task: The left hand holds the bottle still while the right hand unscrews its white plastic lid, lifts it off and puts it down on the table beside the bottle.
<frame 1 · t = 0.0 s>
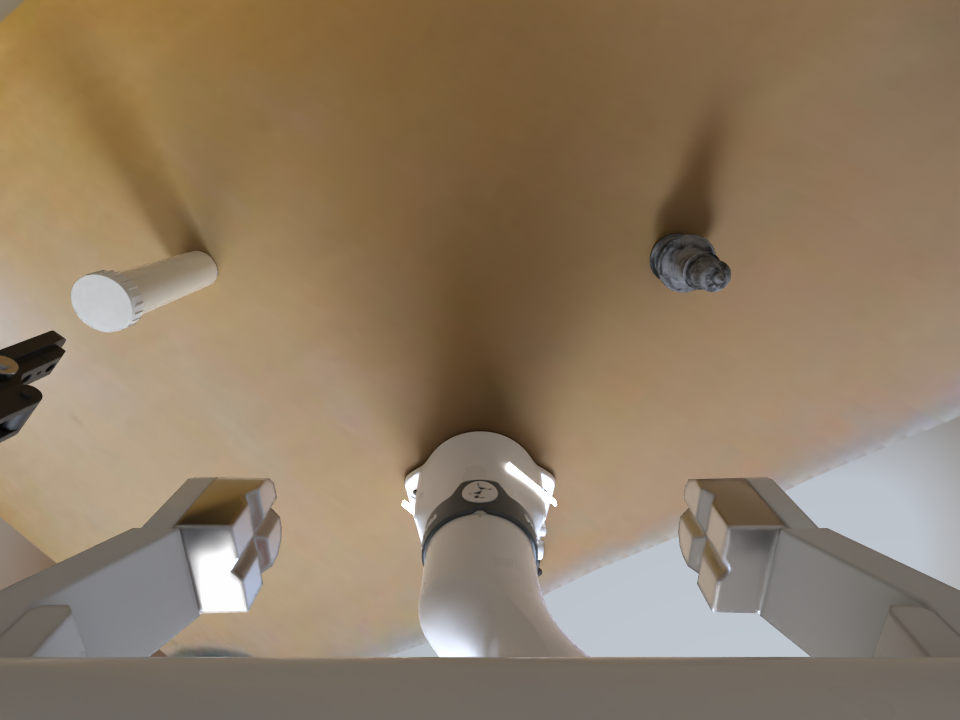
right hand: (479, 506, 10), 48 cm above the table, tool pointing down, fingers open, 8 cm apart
lid: (104, 302, 42), point 15 cm above the table, screwed on, not yet turned
grey chess piece: (674, 258, 56), on the table
bottle: (199, 269, 57), on the table
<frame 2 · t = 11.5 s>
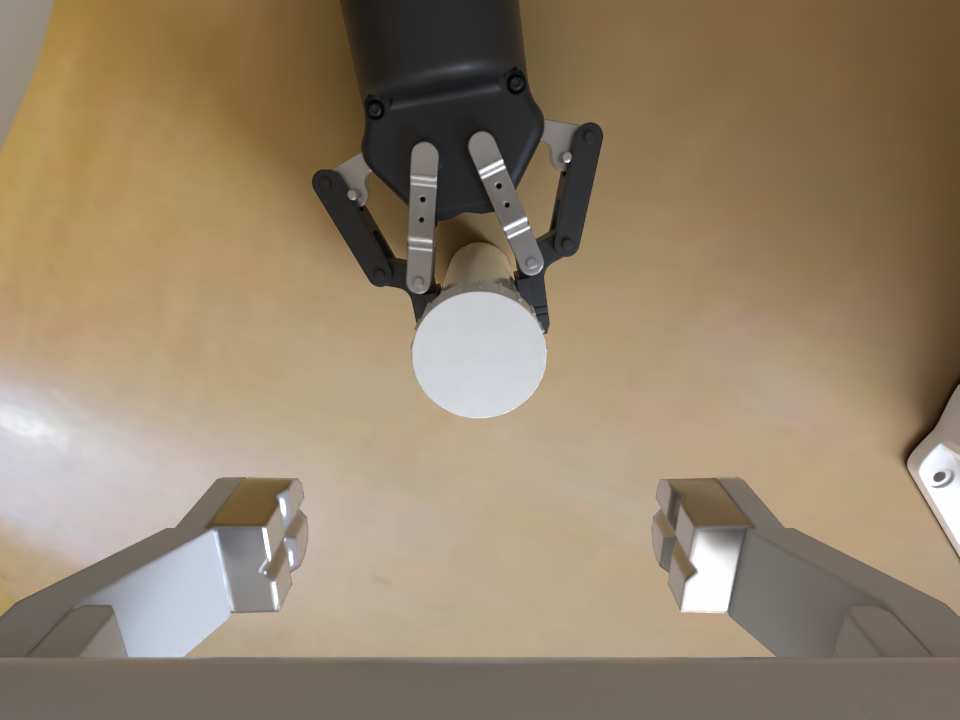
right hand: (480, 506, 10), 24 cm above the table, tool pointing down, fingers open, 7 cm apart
left hand: (488, 347, 28), fingers closed on bottle, 4 cm apart
lid: (479, 354, 19), point 15 cm above the table, screwed on, not yet turned
bottle: (479, 273, 33), on the table, touching left hand
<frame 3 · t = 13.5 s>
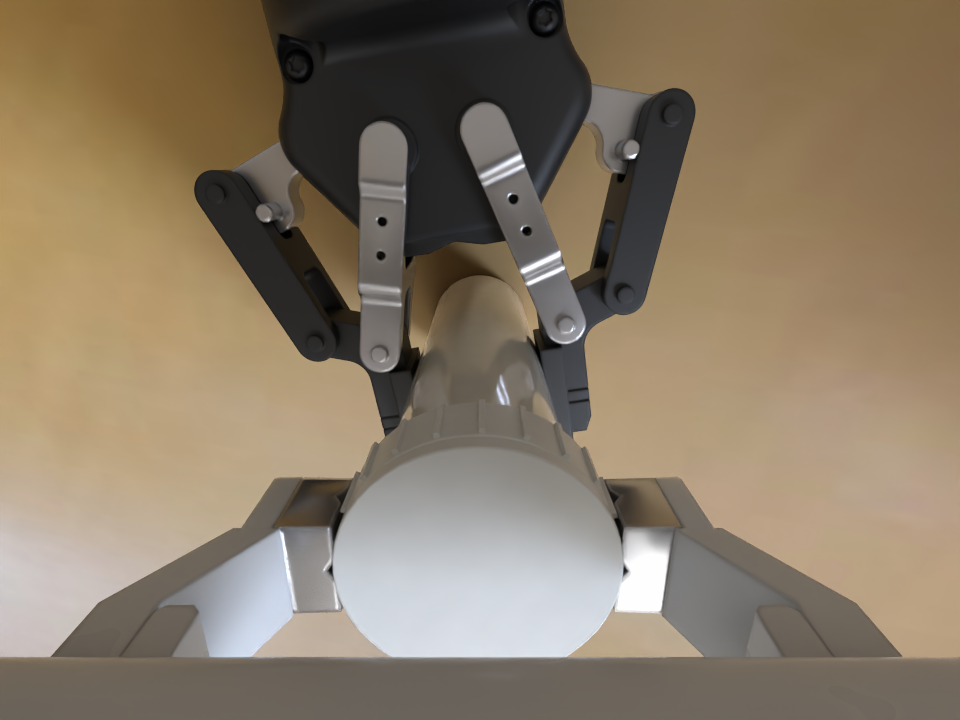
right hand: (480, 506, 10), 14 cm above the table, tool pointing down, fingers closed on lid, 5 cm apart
left hand: (493, 446, 18), fingers closed on bottle, 4 cm apart
lid: (478, 560, 9), point 15 cm above the table, screwed on, not yet turned, touching right hand
bottle: (479, 319, 23), on the table, touching left hand
when the right hand's fingers open (14 cm above the table, at t = 14.9 s): lid stays where it is, point 15 cm above the table.
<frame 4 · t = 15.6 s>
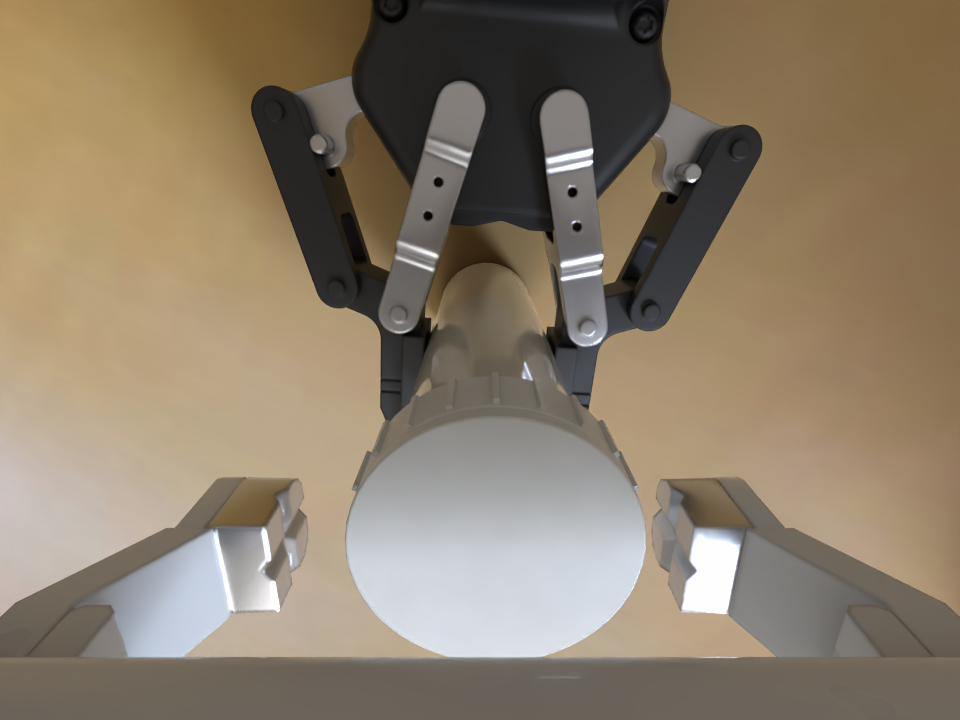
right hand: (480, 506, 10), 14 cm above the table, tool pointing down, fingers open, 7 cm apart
left hand: (482, 431, 18), fingers closed on bottle, 4 cm apart
lid: (495, 537, 9), point 15 cm above the table, turned 84° so far, risen 0.2 cm, still on its thread
bottle: (485, 307, 23), on the table, touching left hand
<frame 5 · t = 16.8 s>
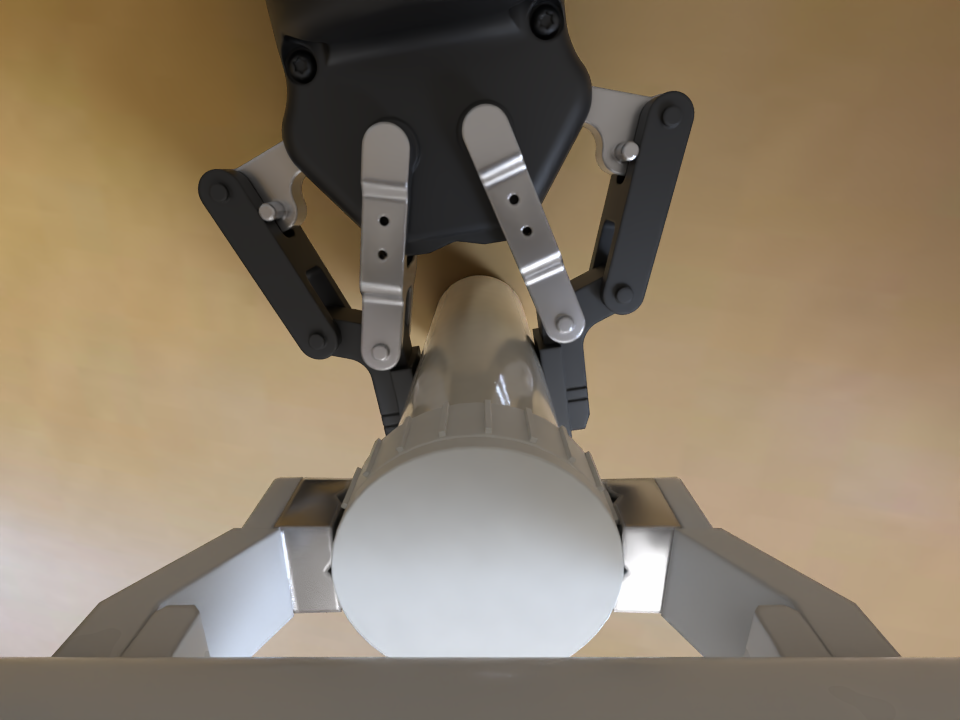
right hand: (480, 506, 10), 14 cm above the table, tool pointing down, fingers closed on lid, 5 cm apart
left hand: (492, 444, 18), fingers closed on bottle, 4 cm apart
lid: (477, 561, 9), point 15 cm above the table, turned 84° so far, risen 0.2 cm, still on its thread, touching right hand
bottle: (479, 319, 23), on the table, touching left hand
when the right hand's fingers open (2 cm above the table, at t = 23.5 s): lid drops 2 cm, point 1 cm above the table.
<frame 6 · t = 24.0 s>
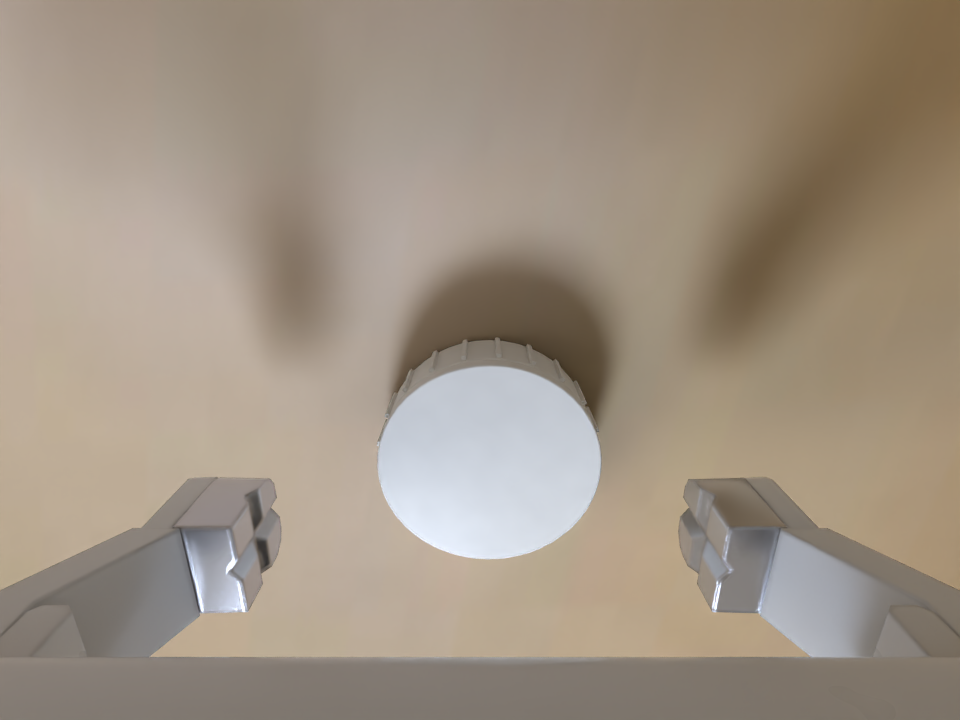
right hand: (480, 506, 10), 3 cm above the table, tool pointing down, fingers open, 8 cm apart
lid: (489, 461, 11), point 1 cm above the table, off its thread
when the left hand's fingers open (7 cm above the table, at t = 24.5 s): bottle stays where it is, on the table.
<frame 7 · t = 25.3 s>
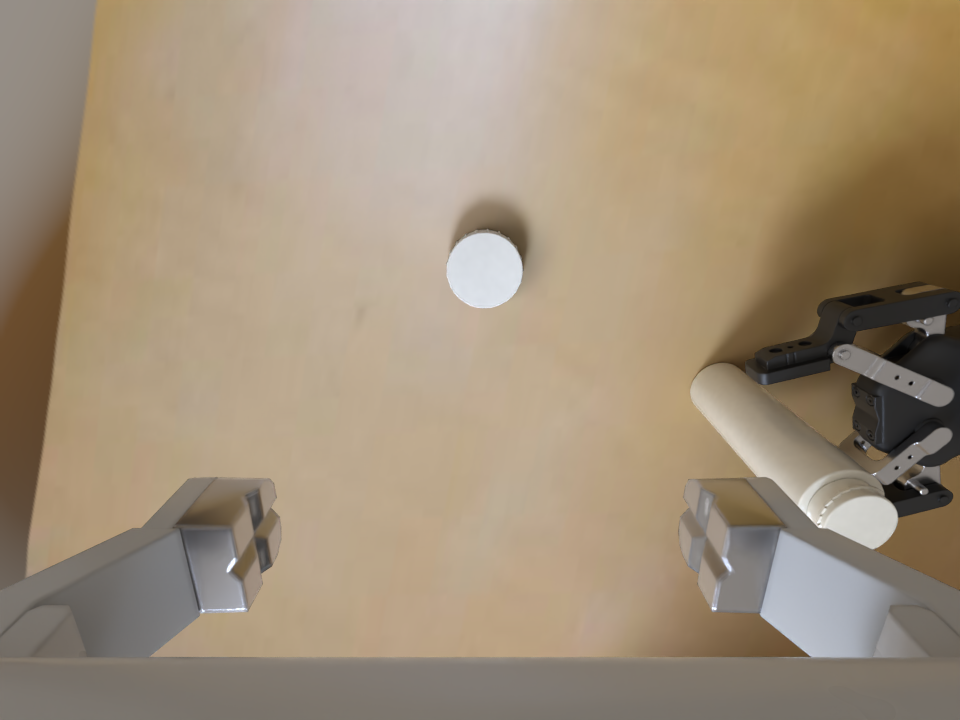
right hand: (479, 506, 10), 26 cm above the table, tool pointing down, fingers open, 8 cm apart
lid: (484, 270, 33), point 1 cm above the table, off its thread
bottle: (718, 388, 37), on the table
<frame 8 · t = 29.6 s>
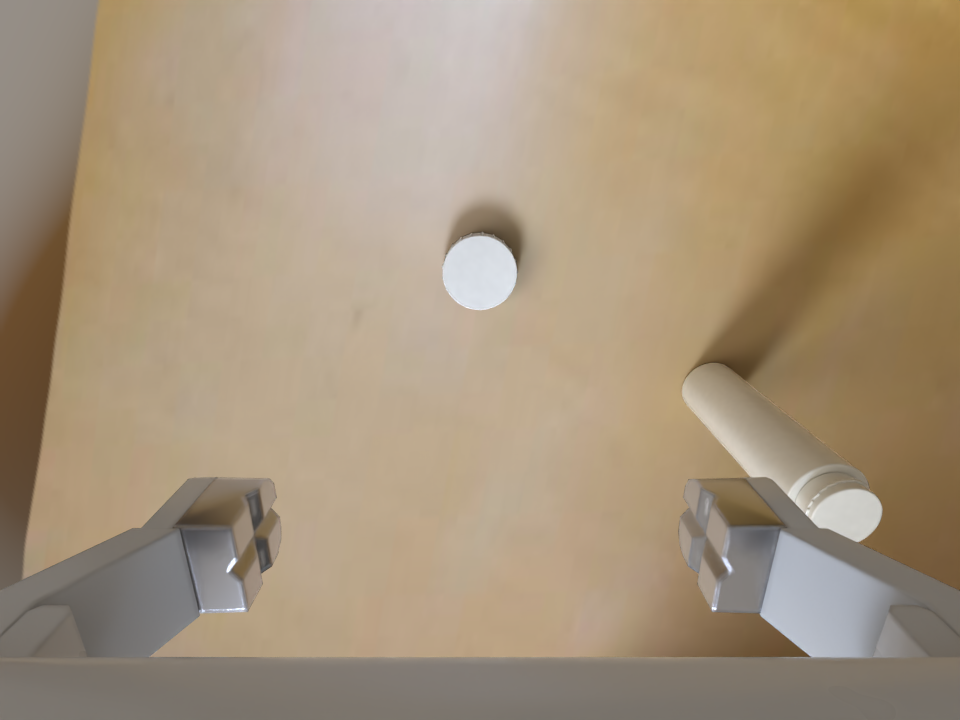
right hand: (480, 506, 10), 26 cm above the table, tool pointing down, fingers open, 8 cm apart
lid: (479, 272, 34), point 1 cm above the table, off its thread
bottle: (709, 387, 38), on the table
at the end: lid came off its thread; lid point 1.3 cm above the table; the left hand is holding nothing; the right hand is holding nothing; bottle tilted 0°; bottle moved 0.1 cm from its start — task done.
